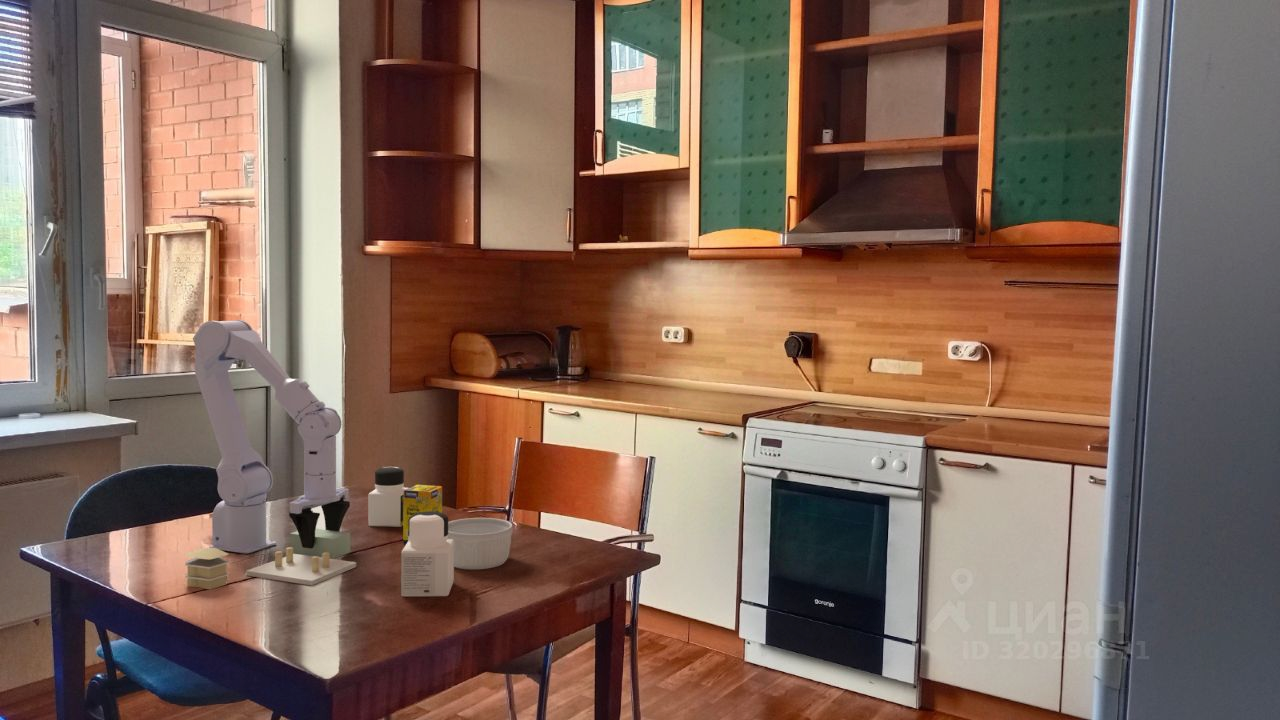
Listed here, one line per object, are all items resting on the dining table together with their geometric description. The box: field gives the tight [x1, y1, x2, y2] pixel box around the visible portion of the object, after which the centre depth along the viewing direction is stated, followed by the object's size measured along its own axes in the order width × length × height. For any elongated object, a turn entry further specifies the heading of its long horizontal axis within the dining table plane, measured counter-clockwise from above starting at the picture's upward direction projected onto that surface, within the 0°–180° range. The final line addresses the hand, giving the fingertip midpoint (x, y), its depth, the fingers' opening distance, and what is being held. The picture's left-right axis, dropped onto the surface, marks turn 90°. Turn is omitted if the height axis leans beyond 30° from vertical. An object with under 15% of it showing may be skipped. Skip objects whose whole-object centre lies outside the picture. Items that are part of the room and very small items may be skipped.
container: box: [400, 511, 455, 597], centre depth 156 cm, size 8×8×13 cm
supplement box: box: [402, 484, 443, 545], centre depth 187 cm, size 6×6×11 cm
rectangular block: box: [289, 528, 351, 560], centre depth 178 cm, size 10×5×4 cm, turn 70°
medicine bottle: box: [367, 466, 410, 528], centre depth 202 cm, size 7×7×12 cm
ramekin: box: [448, 517, 514, 570], centre depth 174 cm, size 13×13×7 cm
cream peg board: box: [245, 546, 357, 586], centre depth 166 cm, size 14×12×3 cm
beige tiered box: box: [184, 547, 230, 590], centre depth 157 cm, size 10×9×6 cm
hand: (320, 543), depth 178 cm, fingers open, 6 cm apart
